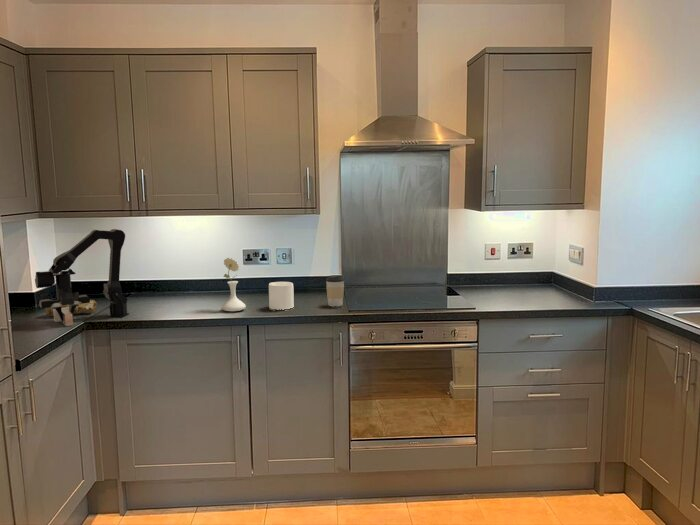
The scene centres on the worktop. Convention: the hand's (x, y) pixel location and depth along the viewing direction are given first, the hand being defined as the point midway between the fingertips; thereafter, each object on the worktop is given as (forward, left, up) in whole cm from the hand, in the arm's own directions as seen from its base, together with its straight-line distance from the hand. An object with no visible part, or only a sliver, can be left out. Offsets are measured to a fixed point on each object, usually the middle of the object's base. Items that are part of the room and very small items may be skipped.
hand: (66, 320), depth 238 cm
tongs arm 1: (+1, 0, -1) cm, 1 cm away
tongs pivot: (+5, -5, -1) cm, 8 cm away
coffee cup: (-110, -48, -1) cm, 120 cm away
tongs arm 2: (0, -1, -1) cm, 1 cm away
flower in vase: (-63, -33, -1) cm, 71 cm away
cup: (-85, -40, -2) cm, 94 cm away
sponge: (+9, -16, -2) cm, 19 cm away
